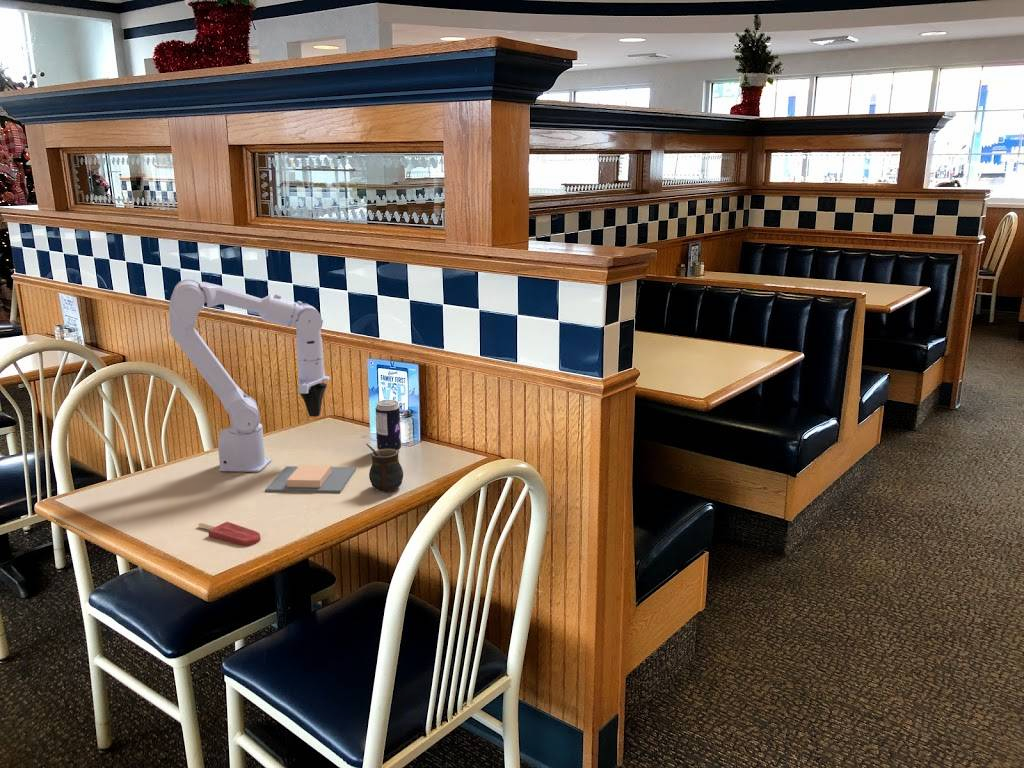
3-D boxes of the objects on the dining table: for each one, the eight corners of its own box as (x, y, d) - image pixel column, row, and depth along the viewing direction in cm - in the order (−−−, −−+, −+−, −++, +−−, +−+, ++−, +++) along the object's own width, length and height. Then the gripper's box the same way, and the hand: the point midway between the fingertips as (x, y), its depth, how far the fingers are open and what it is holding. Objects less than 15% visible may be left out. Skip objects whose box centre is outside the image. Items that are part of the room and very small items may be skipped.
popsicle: (208, 515, 157) (265, 532, 150) (208, 523, 157) (266, 541, 150) (188, 524, 153) (247, 542, 146) (189, 532, 153) (247, 550, 146)
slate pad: (265, 491, 172) (265, 489, 172) (286, 468, 186) (286, 466, 185) (340, 492, 171) (340, 490, 171) (356, 469, 185) (356, 467, 185)
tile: (300, 472, 181) (287, 487, 173) (300, 465, 181) (286, 479, 172) (331, 473, 181) (320, 488, 172) (331, 465, 180) (319, 480, 172)
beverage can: (399, 454, 194) (397, 406, 191) (375, 454, 194) (373, 406, 191) (402, 447, 200) (401, 399, 197) (379, 446, 200) (377, 399, 197)
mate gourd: (403, 494, 170) (400, 448, 168) (366, 495, 170) (363, 450, 167) (405, 481, 177) (403, 437, 175) (370, 482, 177) (367, 438, 174)
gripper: (318, 365, 179) (323, 425, 182) (336, 351, 193) (339, 407, 196) (287, 365, 179) (291, 425, 183) (306, 351, 193) (310, 406, 197)
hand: (314, 415), depth 189 cm, fingers closed
